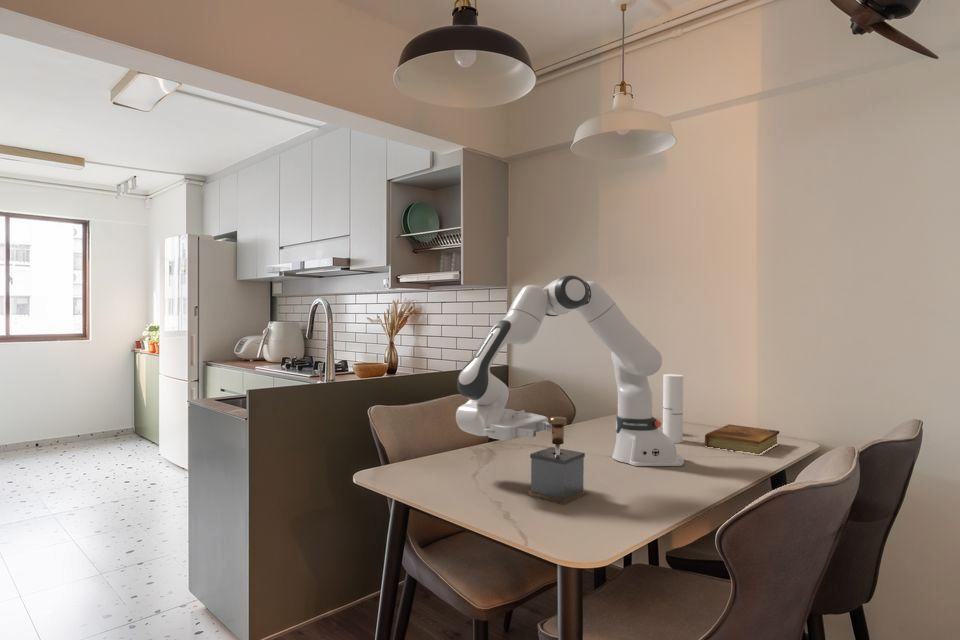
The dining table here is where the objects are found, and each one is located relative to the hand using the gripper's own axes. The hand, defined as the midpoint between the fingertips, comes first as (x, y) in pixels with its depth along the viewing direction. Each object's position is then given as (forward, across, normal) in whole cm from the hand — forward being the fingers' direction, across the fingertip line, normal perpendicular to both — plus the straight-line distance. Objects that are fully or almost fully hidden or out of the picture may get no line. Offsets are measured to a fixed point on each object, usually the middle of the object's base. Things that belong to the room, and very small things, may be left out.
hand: (544, 431), depth 154 cm
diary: (+26, +92, +17) cm, 97 cm away
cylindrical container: (+4, +83, +16) cm, 85 cm away
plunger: (+4, 0, +15) cm, 16 cm away
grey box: (+4, 0, +16) cm, 17 cm away
